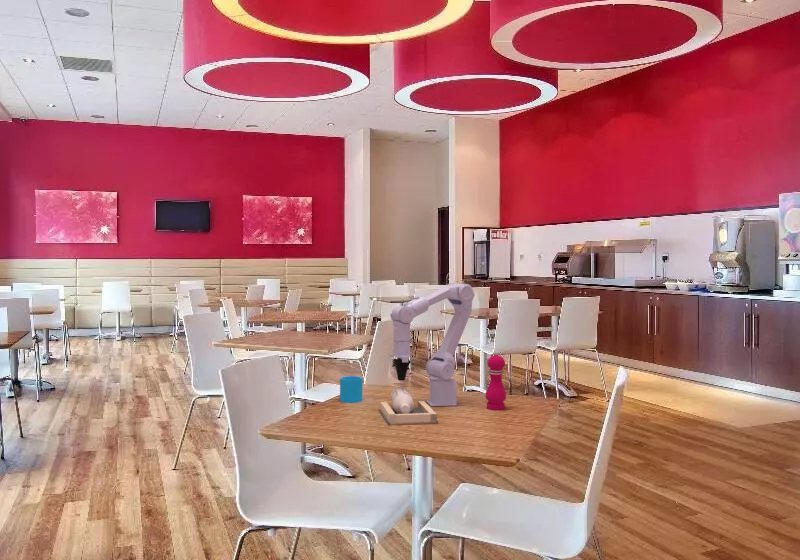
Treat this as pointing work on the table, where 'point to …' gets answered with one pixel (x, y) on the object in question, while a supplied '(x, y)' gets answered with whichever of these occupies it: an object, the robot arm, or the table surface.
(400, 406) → the bath foam
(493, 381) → the pepper mill
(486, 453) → the table surface
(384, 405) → the cradle
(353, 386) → the mug
